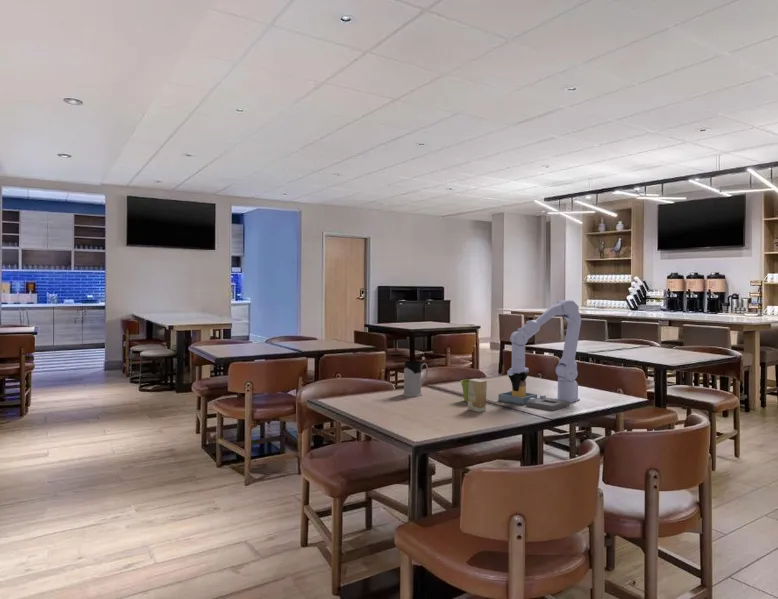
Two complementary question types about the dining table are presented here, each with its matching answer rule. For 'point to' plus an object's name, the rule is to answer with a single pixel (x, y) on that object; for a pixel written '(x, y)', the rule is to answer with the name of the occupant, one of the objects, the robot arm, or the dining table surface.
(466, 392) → the plant pot
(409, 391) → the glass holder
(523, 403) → the parts tray
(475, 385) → the skincare box
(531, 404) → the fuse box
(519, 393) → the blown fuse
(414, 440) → the dining table surface
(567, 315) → the robot arm
